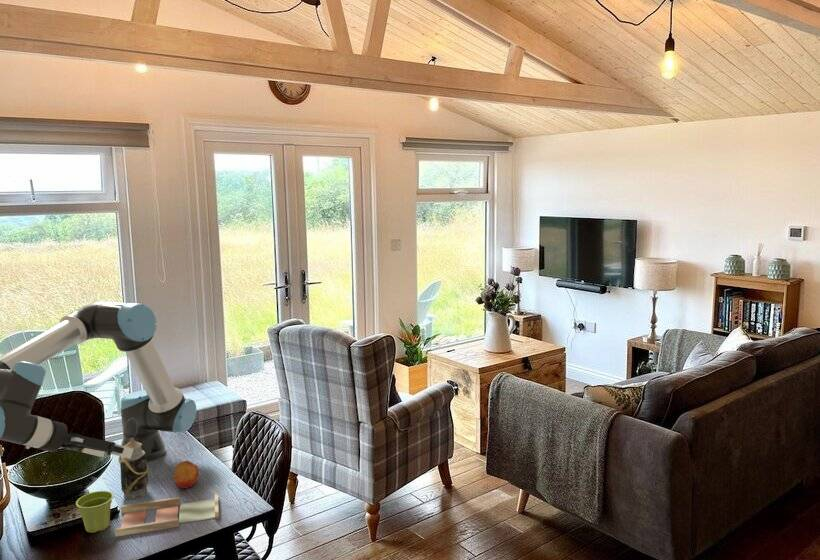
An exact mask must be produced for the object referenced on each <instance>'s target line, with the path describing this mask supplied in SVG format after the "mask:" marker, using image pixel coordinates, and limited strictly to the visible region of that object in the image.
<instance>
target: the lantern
mask: <svg viewBox="0 0 820 560" xmlns="http://www.w3.org/2000/svg"><path fill="white" fill-rule="evenodd" d="M130 419H134V418H130ZM130 419H129V420H130ZM129 420H128V421H129ZM134 420H135V421H136V419H134ZM128 421H127V422H128ZM127 422H126V424H127ZM136 423H137V421H136ZM126 424H125V427H126ZM125 427H124V437H125ZM137 429H138V424H137ZM136 433H137V430H136ZM136 433H135V435H136ZM135 435H134V437H135ZM134 437H133V438H134ZM133 438H130V440H129V442H128V443H127V444H126V445H124V446H125V447H129V448H133V452H132V455H131V458H130V459H129V458H125V457H121V456H120V457H119V456H118V463H119V464H120V465H119V466H120V484H121V488H120V489H121V491H122V494H123V496H124V499H125V500H139V499H142V498H144V496H146V495H147V494H148V484H149V481H150V480H149V472H150V471H149V465H148V462H147V461H146V456H145V455H144V454H145V452H144V450H142V449H141V445H142V443H139V442H136V441H134V439H133ZM125 439H126V440H128V439H127V438H126V437H125ZM132 439H133V440H132Z"/></svg>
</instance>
